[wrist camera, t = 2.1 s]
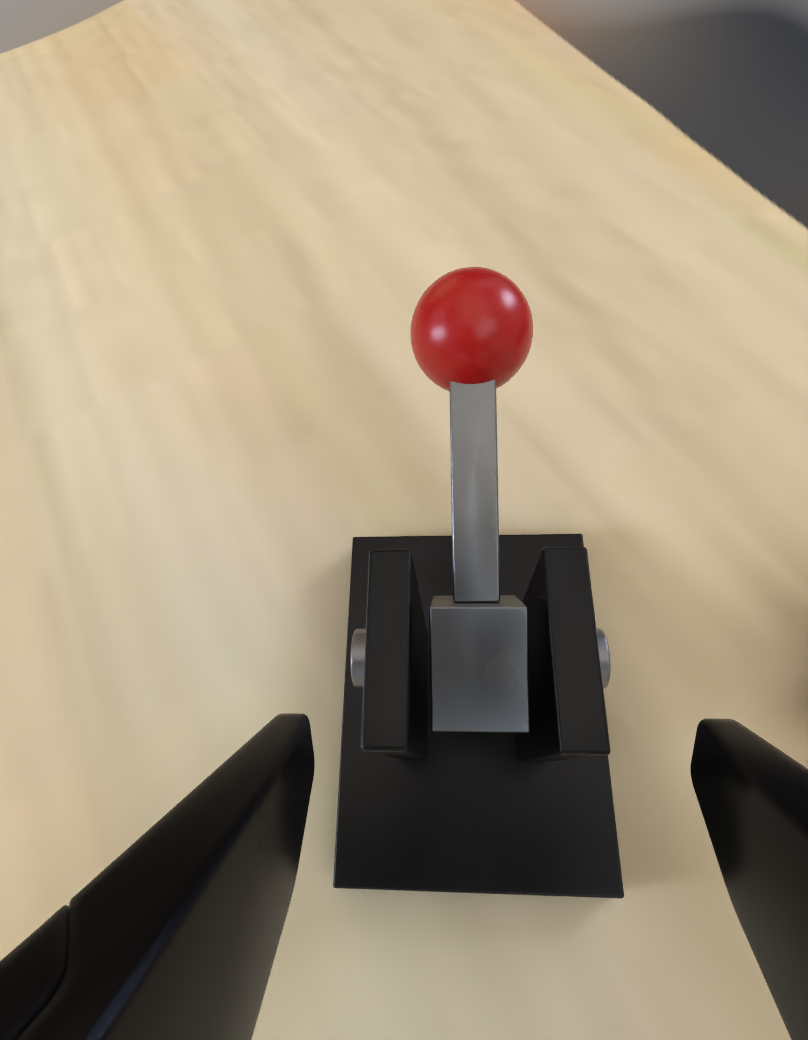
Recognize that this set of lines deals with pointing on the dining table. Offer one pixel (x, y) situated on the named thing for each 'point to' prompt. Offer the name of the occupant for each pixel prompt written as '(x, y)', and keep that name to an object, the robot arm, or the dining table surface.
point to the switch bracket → (475, 735)
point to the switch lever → (475, 502)
